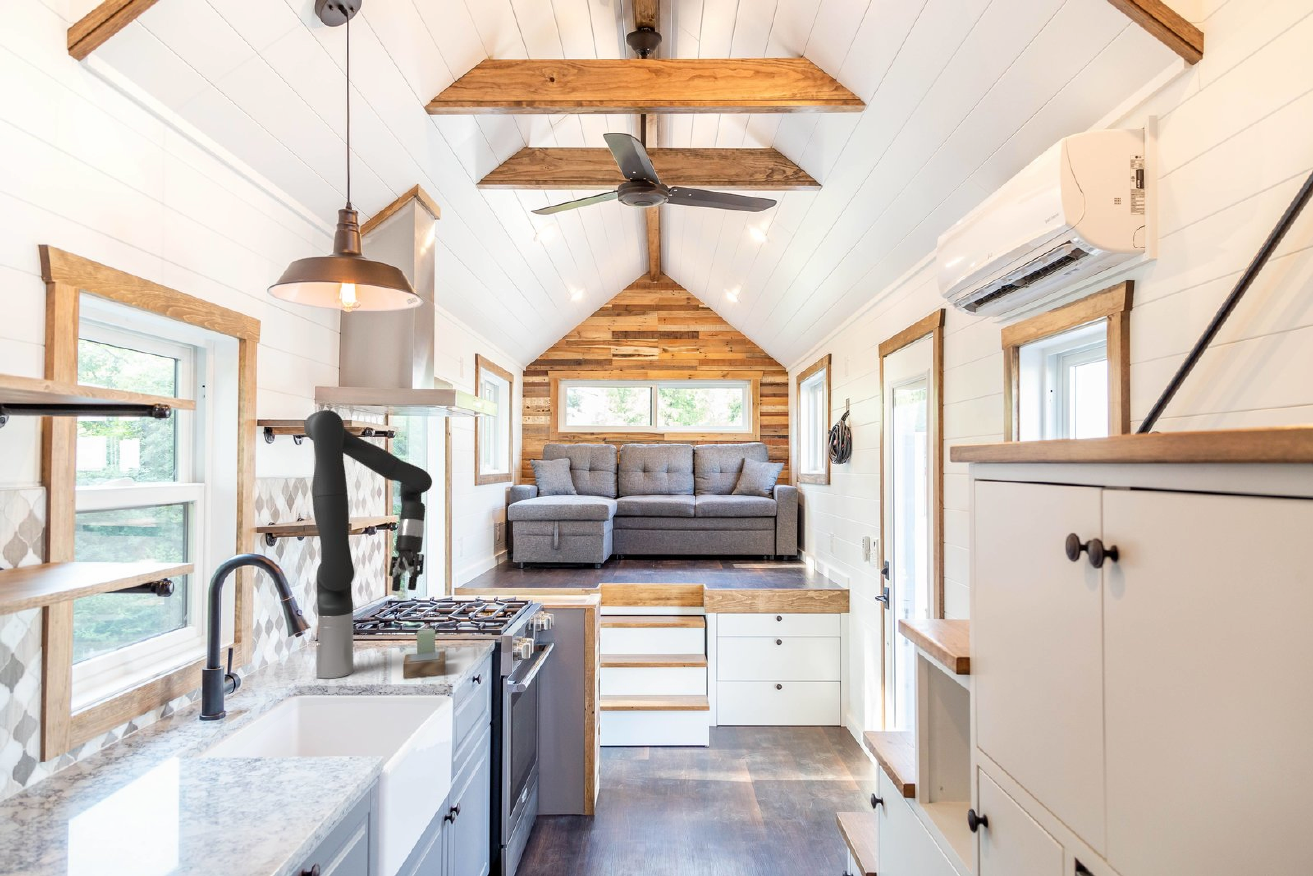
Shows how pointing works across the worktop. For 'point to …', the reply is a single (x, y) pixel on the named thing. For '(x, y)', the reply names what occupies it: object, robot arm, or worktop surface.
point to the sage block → (426, 641)
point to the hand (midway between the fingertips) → (403, 590)
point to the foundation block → (424, 664)
